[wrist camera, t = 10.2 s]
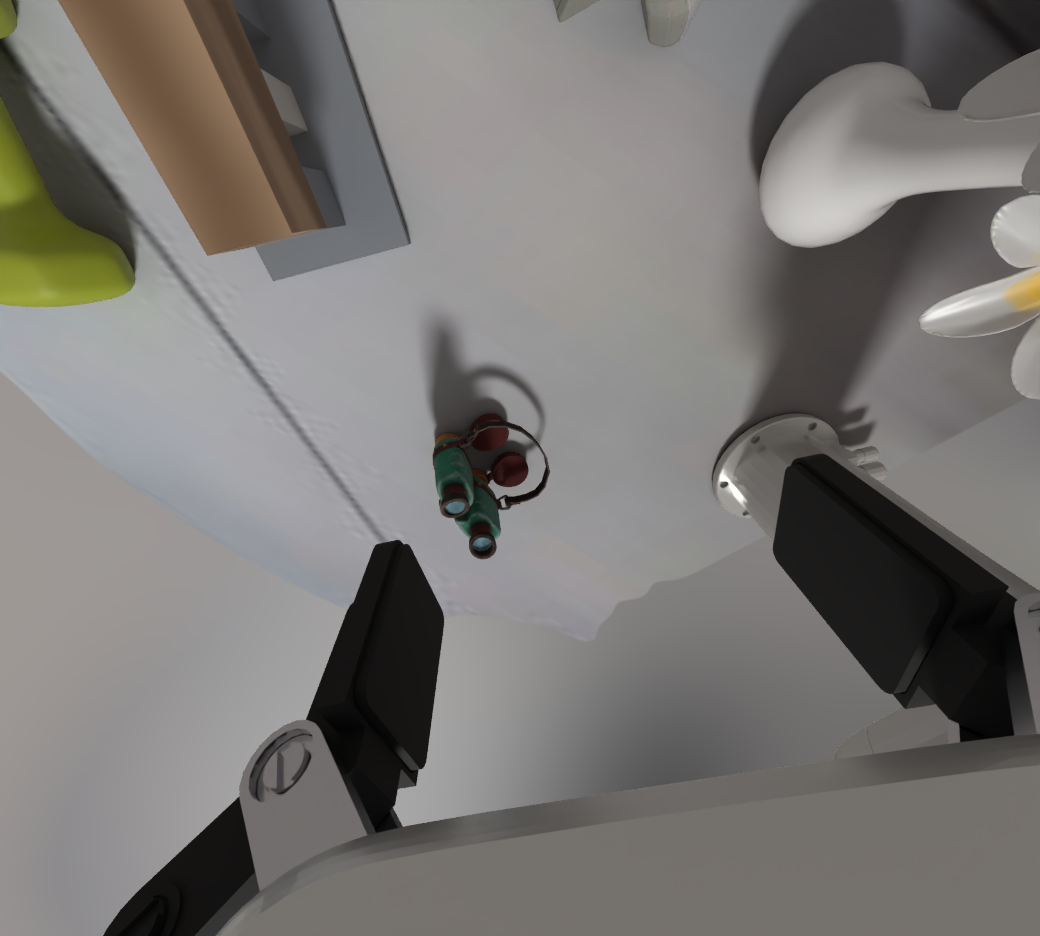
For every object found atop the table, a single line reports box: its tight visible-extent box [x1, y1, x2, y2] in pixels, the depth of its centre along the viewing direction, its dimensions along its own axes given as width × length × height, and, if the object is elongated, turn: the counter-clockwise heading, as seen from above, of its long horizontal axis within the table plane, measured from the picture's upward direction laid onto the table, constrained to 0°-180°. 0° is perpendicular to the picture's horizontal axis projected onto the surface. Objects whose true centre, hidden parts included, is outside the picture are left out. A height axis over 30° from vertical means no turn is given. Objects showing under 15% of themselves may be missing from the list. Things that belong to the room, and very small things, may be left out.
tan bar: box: [58, 0, 327, 256], centre depth 17 cm, size 4×12×5 cm, turn 12°
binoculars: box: [433, 414, 550, 559], centre depth 35 cm, size 9×11×10 cm
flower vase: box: [759, 49, 1040, 400], centre depth 17 cm, size 13×18×25 cm
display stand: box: [232, 0, 410, 281], centre depth 22 cm, size 10×16×7 cm, turn 13°
